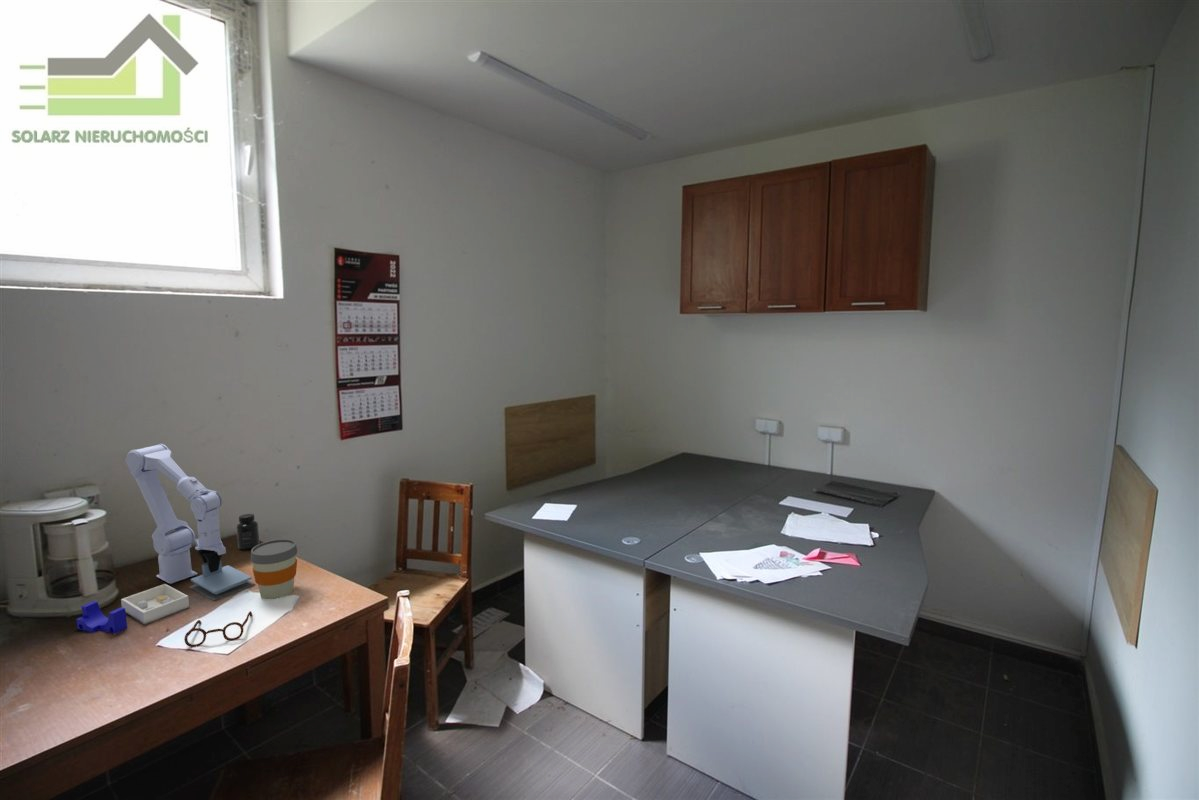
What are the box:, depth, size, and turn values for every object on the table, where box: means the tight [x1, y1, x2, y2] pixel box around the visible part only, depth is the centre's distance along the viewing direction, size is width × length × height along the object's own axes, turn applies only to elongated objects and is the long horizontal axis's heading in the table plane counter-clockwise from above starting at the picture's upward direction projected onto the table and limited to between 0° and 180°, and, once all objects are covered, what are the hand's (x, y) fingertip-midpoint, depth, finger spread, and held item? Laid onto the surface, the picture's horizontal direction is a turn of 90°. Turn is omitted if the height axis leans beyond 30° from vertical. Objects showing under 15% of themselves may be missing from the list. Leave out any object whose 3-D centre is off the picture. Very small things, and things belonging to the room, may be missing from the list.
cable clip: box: [75, 600, 128, 634], centre depth 151 cm, size 12×4×6 cm, turn 74°
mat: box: [188, 580, 256, 602], centre depth 176 cm, size 15×12×1 cm
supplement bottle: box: [235, 513, 261, 551], centre depth 205 cm, size 7×7×12 cm
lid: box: [190, 559, 253, 595], centre depth 175 cm, size 14×11×6 cm
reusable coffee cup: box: [250, 538, 298, 600], centre depth 172 cm, size 12×13×15 cm
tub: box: [120, 583, 190, 625], centre depth 162 cm, size 14×11×4 cm
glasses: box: [184, 611, 253, 648], centre depth 152 cm, size 13×13×5 cm
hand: (212, 570), depth 178 cm, fingers closed on lid
